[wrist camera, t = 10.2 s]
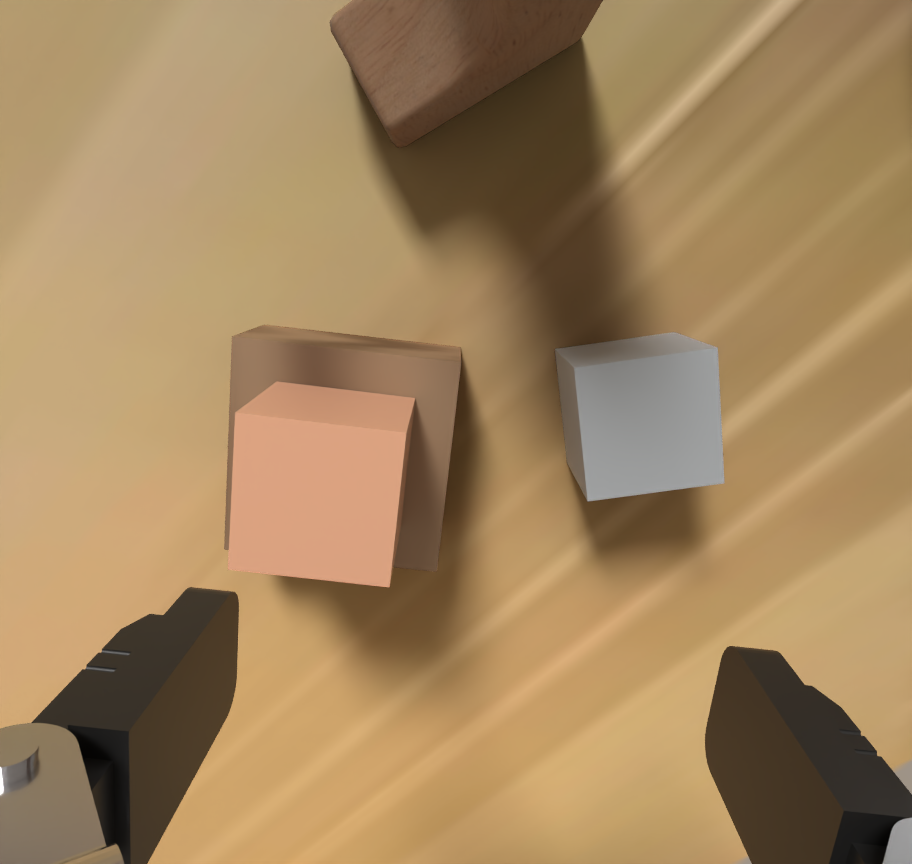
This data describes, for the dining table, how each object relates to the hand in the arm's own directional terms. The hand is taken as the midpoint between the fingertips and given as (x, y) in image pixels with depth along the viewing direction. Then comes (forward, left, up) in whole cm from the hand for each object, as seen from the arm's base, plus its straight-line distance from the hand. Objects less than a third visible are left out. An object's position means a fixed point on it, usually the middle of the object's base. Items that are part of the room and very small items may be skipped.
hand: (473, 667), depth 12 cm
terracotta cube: (+5, +2, -17) cm, 18 cm away
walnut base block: (+5, +2, -22) cm, 23 cm away
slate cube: (-7, -1, -22) cm, 23 cm away
